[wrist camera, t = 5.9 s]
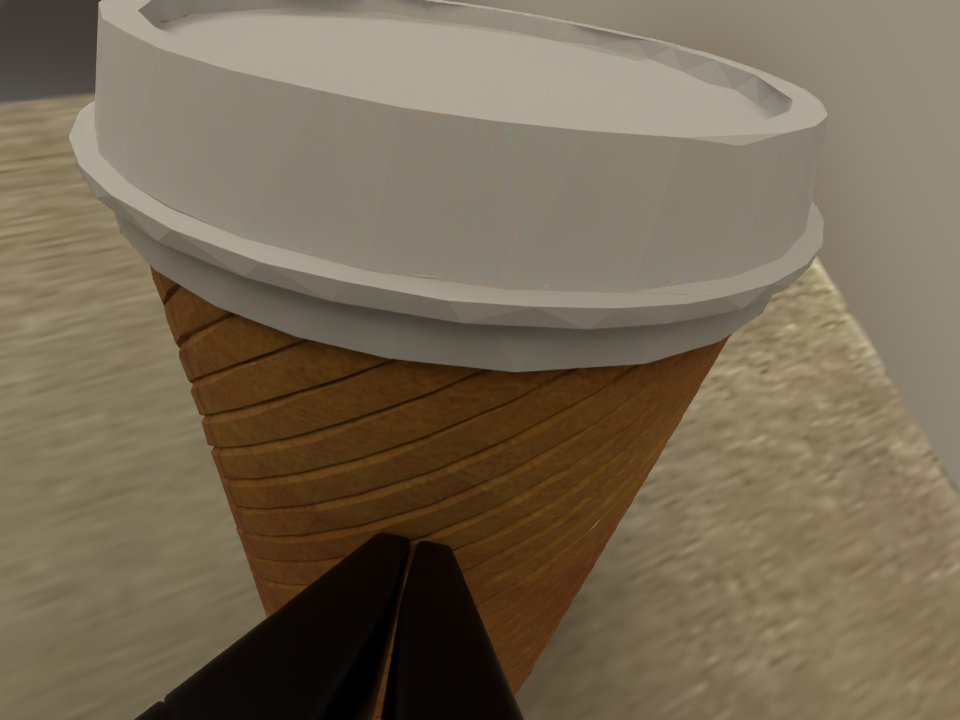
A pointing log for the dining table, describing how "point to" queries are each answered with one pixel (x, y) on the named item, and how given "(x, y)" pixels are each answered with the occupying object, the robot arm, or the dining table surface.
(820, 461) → the dining table surface
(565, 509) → the disposable coffee cup
